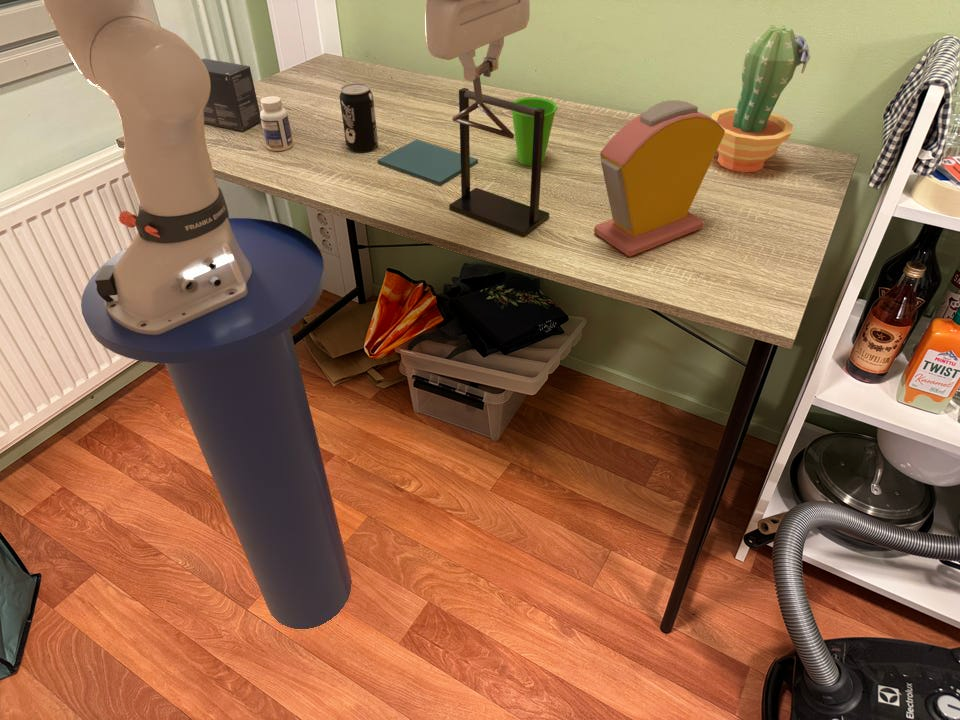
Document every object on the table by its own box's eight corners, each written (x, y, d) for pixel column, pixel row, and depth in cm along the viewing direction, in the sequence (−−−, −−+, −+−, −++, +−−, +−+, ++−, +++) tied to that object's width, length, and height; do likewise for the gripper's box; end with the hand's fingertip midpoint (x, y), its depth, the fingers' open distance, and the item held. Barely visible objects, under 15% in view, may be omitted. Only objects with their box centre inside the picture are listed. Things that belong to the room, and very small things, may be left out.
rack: (523, 237, 114) (528, 119, 101) (449, 209, 121) (444, 96, 108) (549, 218, 119) (557, 102, 105) (476, 192, 126) (475, 81, 113)
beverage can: (340, 148, 140) (331, 89, 133) (361, 137, 145) (354, 79, 137) (363, 156, 138) (356, 96, 130) (385, 144, 142) (378, 86, 134)
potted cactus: (765, 187, 127) (807, 46, 110) (687, 165, 134) (716, 29, 117) (792, 158, 136) (835, 24, 119) (718, 138, 143) (749, 9, 126)
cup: (534, 175, 131) (537, 119, 124) (499, 161, 136) (500, 106, 128) (562, 160, 136) (567, 105, 129) (527, 147, 140) (530, 93, 133)
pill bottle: (285, 138, 144) (275, 92, 138) (298, 146, 141) (289, 99, 135) (262, 146, 142) (251, 99, 135) (275, 154, 139) (265, 106, 132)
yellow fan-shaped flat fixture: (675, 202, 123) (700, 81, 108) (714, 225, 117) (746, 99, 102) (580, 238, 114) (593, 110, 100) (616, 264, 108) (636, 132, 94)
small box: (263, 121, 151) (251, 65, 143) (243, 132, 147) (229, 75, 139) (217, 111, 156) (203, 56, 148) (196, 122, 151) (180, 66, 143)
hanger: (512, 140, 103) (507, 80, 96) (451, 121, 108) (442, 64, 101) (524, 129, 105) (520, 70, 98) (463, 111, 110) (455, 54, 103)
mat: (440, 185, 128) (439, 182, 127) (377, 163, 135) (377, 159, 135) (478, 162, 135) (478, 159, 135) (416, 142, 142) (416, 139, 142)
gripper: (506, -47, 99) (503, 52, 108) (414, -20, 86) (420, 90, 96) (543, -42, 96) (537, 60, 105) (453, -13, 84) (455, 100, 93)
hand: (481, 74), depth 100 cm, fingers closed on hanger, 3 cm apart
